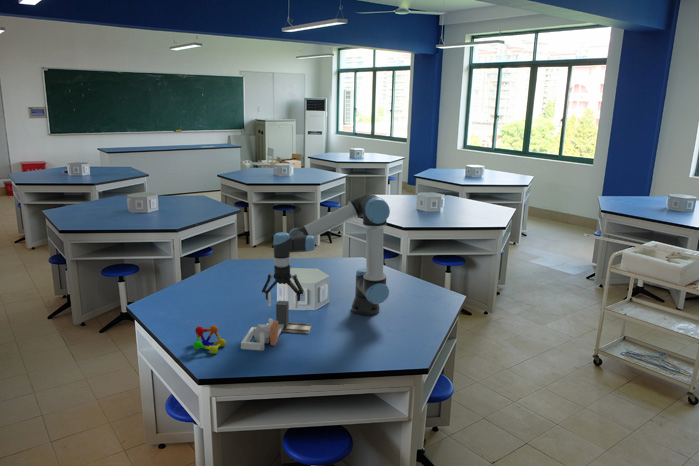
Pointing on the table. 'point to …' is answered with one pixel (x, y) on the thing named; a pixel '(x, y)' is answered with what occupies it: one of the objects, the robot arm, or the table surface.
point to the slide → (297, 328)
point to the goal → (254, 345)
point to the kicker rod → (279, 320)
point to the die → (265, 330)
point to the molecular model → (206, 343)
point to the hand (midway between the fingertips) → (283, 306)
